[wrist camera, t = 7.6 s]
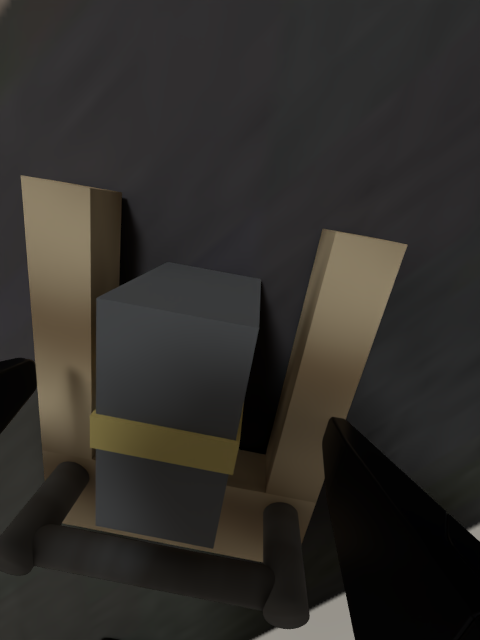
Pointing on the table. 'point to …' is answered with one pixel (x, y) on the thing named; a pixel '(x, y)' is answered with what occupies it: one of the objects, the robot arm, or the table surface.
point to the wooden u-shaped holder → (250, 468)
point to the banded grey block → (171, 398)
